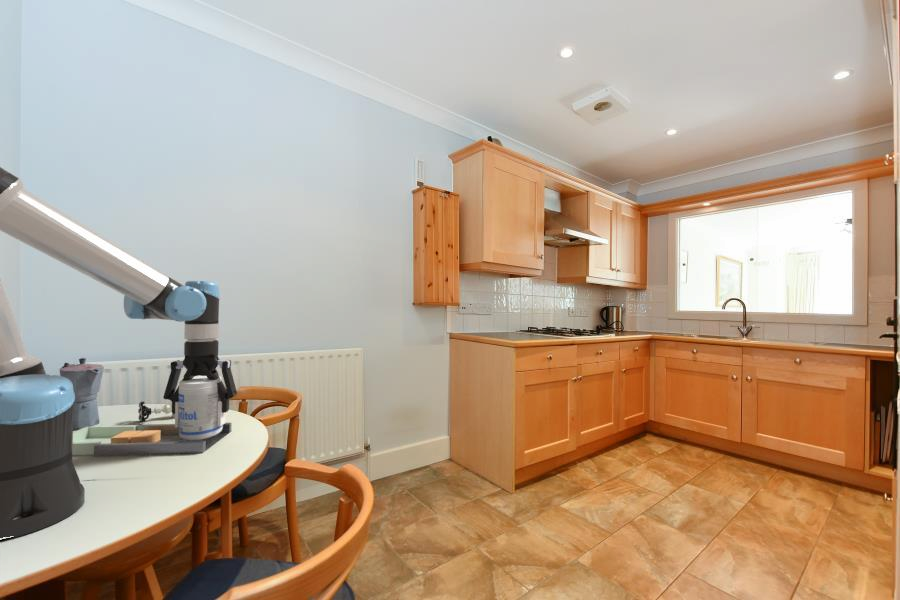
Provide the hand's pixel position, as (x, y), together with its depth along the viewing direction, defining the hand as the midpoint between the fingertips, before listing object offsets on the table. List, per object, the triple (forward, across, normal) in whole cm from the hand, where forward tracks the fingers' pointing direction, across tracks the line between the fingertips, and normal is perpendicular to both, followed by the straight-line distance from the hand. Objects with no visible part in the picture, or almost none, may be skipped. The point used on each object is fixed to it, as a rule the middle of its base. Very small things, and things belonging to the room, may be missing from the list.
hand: (200, 425), depth 99 cm
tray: (+4, +26, 0) cm, 26 cm away
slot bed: (+5, +8, 0) cm, 9 cm away
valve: (+5, +21, -22) cm, 31 cm away
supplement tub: (+3, 0, 0) cm, 3 cm away
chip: (+4, +18, 0) cm, 18 cm away
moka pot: (+5, +42, -16) cm, 45 cm away
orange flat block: (+4, +13, 0) cm, 14 cm away
